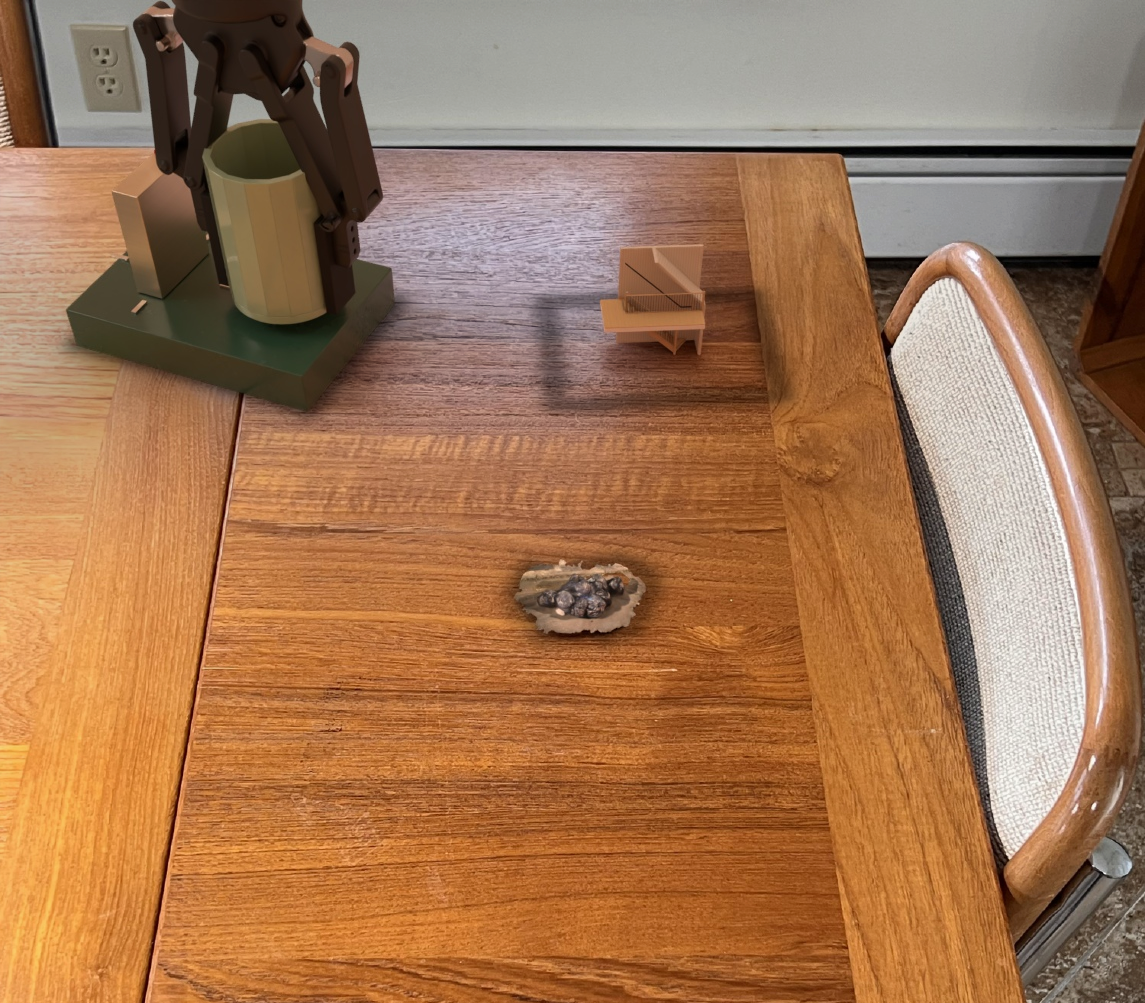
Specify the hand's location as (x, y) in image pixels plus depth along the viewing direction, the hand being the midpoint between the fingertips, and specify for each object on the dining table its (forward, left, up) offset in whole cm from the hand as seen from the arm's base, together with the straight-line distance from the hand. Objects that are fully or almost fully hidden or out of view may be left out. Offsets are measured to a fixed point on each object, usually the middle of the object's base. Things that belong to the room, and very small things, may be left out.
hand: (287, 287), depth 95 cm
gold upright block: (-9, 0, -1) cm, 9 cm away
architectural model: (+23, +9, -4) cm, 26 cm away
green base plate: (-5, 0, -4) cm, 6 cm away
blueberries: (+27, -15, -4) cm, 32 cm away
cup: (0, 0, 0) cm, 0 cm away
